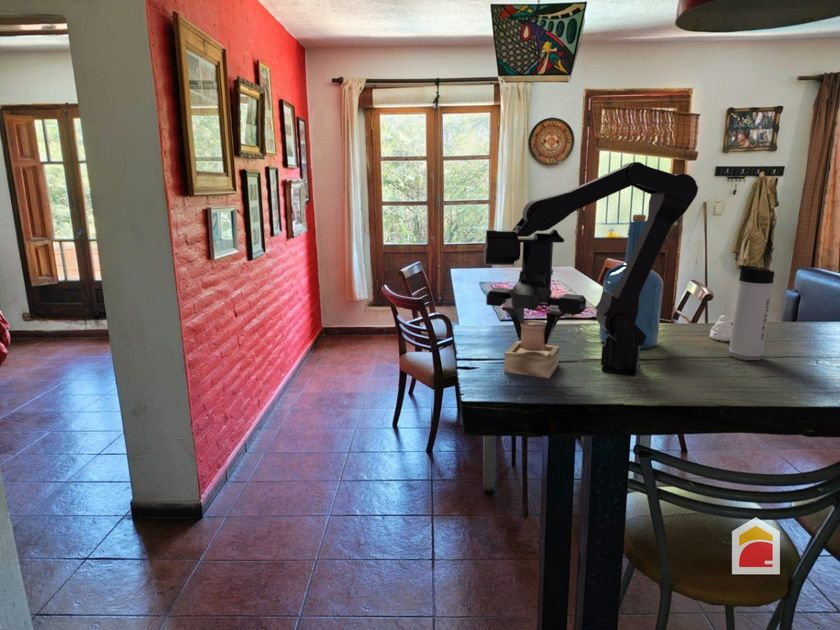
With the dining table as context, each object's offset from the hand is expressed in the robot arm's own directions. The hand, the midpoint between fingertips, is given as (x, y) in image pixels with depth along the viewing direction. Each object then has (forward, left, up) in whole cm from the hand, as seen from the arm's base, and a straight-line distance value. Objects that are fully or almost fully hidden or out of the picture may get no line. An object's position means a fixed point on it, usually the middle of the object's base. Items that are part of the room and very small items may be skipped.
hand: (533, 342), depth 108 cm
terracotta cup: (0, 0, -1) cm, 1 cm away
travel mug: (-38, -30, -6) cm, 49 cm away
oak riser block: (0, 0, -6) cm, 6 cm away
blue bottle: (-14, -29, -6) cm, 33 cm away
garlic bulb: (-34, -44, -6) cm, 56 cm away
